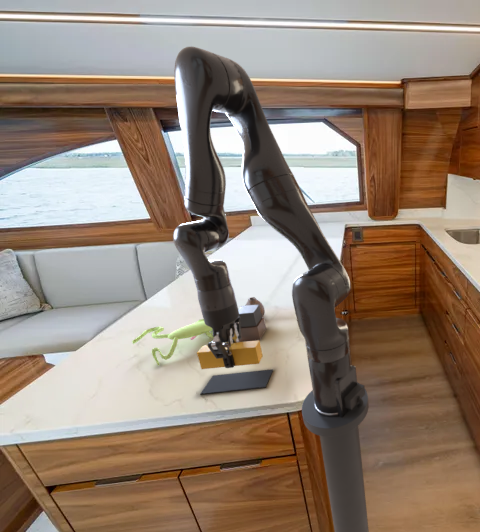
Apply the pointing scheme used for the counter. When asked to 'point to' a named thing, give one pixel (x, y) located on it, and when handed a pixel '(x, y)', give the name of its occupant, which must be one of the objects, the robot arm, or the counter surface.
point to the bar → (241, 353)
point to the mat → (237, 381)
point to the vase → (255, 302)
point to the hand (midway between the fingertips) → (233, 362)
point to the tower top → (249, 315)
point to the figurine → (177, 336)
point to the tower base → (253, 332)
